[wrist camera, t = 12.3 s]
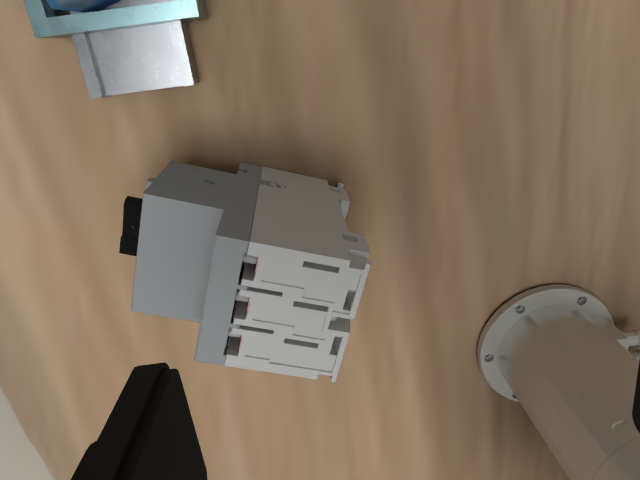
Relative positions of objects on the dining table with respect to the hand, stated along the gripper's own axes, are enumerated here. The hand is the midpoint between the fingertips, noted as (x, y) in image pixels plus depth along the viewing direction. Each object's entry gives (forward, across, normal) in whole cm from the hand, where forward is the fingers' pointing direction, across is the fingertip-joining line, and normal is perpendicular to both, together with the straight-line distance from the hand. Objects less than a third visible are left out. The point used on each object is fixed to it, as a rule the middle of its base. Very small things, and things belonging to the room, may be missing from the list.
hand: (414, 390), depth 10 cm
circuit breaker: (+30, +7, +5) cm, 31 cm away
